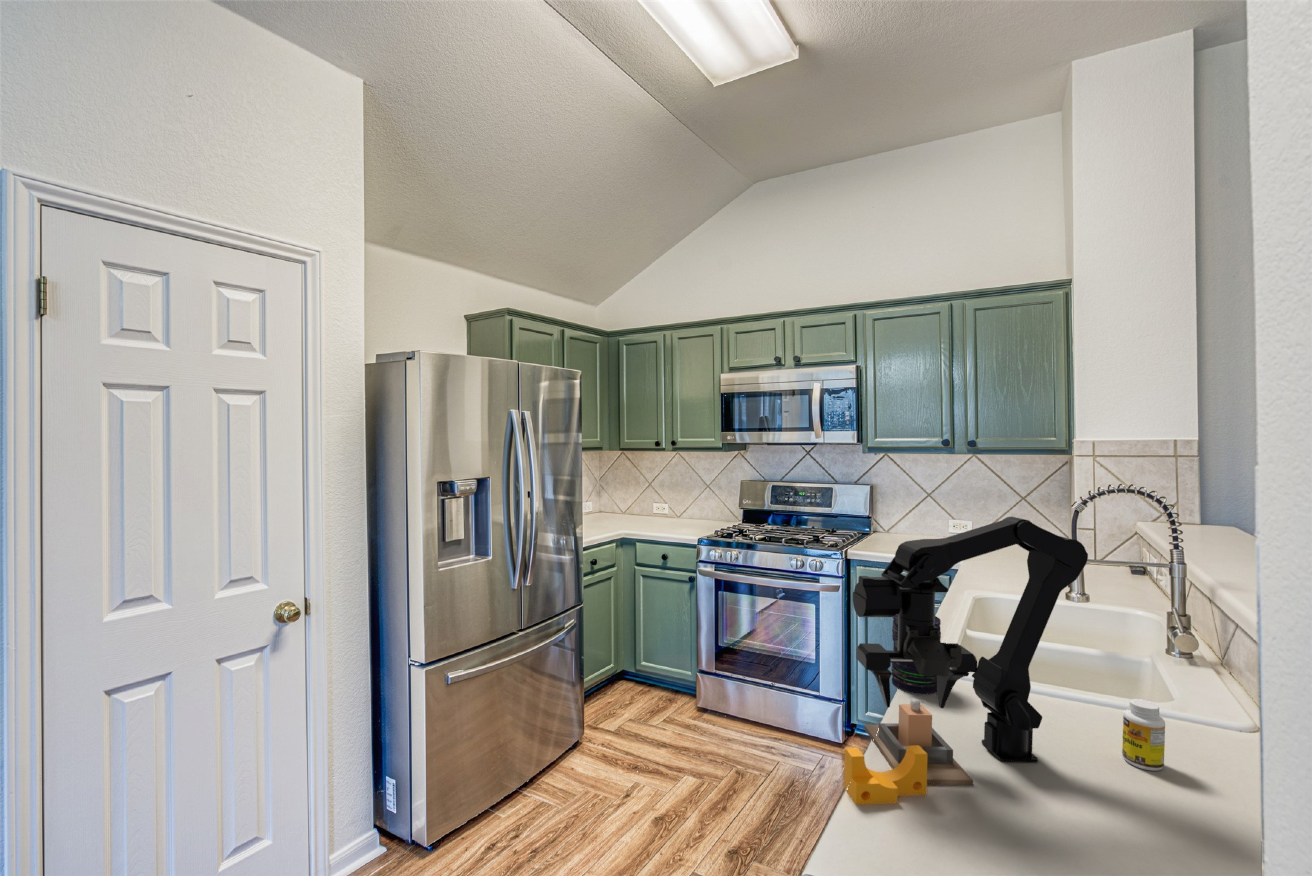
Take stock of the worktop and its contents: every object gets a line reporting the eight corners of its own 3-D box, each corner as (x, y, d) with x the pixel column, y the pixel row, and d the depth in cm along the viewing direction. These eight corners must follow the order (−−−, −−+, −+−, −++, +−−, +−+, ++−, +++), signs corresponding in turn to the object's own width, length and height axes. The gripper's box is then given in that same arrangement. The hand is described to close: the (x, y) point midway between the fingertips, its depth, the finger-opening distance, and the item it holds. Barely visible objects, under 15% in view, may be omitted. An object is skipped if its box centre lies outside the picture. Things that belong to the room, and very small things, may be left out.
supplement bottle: (1113, 754, 107) (1115, 696, 107) (1145, 754, 107) (1146, 696, 107) (1140, 772, 102) (1141, 711, 101) (1172, 772, 102) (1174, 710, 102)
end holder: (922, 729, 115) (923, 712, 115) (972, 784, 97) (973, 764, 97) (864, 728, 115) (864, 711, 115) (903, 784, 97) (903, 764, 97)
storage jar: (934, 678, 139) (936, 612, 139) (944, 697, 130) (946, 626, 129) (888, 674, 142) (889, 609, 141) (894, 691, 132) (895, 622, 132)
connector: (920, 744, 108) (921, 695, 108) (931, 756, 104) (932, 705, 104) (898, 743, 108) (899, 695, 108) (907, 756, 104) (908, 705, 104)
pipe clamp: (855, 805, 92) (856, 762, 92) (844, 788, 96) (845, 747, 96) (932, 802, 93) (933, 760, 93) (917, 785, 97) (918, 745, 97)
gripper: (879, 631, 98) (877, 728, 98) (996, 632, 98) (994, 730, 98) (856, 610, 109) (854, 698, 109) (961, 612, 109) (959, 699, 109)
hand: (914, 706), depth 106 cm, fingers open, 9 cm apart
